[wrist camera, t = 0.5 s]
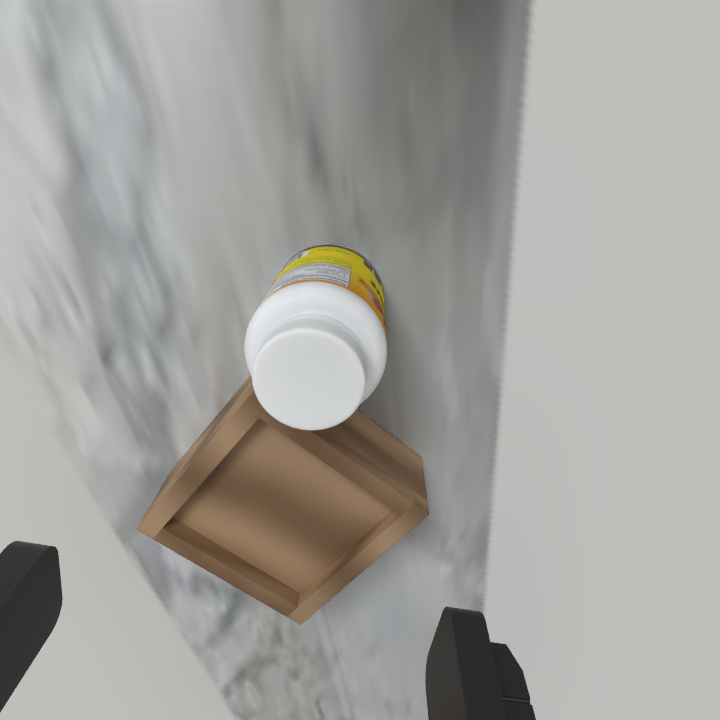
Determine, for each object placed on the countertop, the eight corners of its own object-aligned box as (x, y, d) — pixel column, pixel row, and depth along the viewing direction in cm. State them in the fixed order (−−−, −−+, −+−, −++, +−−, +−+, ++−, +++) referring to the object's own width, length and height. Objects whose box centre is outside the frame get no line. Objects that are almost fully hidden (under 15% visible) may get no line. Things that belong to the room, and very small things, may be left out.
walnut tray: (273, 348, 28) (253, 391, 24) (421, 456, 31) (429, 514, 26) (170, 471, 32) (136, 529, 27) (310, 558, 35) (300, 624, 30)
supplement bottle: (378, 347, 28) (379, 458, 19) (276, 337, 28) (227, 444, 19) (390, 245, 26) (399, 315, 16) (279, 234, 26) (225, 297, 16)
